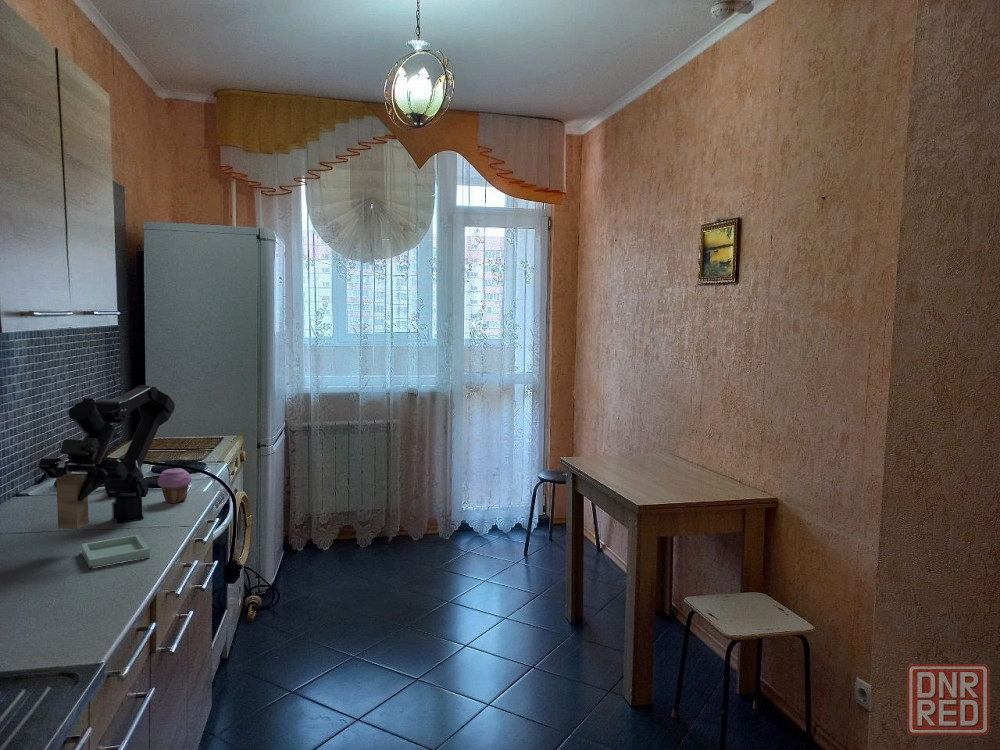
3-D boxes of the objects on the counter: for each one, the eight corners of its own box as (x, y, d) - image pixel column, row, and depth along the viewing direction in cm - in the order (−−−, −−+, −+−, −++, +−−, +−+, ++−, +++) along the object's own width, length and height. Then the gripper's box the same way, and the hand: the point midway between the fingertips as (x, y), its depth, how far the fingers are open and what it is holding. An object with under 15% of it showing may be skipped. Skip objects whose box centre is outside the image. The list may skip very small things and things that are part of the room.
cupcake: (171, 507, 192) (170, 473, 191) (151, 502, 195) (150, 469, 194) (197, 499, 199) (197, 467, 198) (178, 495, 203) (177, 463, 202)
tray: (139, 542, 163) (138, 534, 163) (149, 558, 154) (149, 548, 154) (81, 553, 155) (81, 544, 155) (89, 569, 146) (89, 560, 146)
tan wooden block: (70, 522, 159) (68, 473, 157) (88, 522, 159) (86, 473, 158) (58, 528, 154) (56, 478, 153) (77, 528, 154) (75, 478, 153)
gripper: (40, 424, 158) (9, 481, 148) (119, 426, 158) (94, 483, 148) (63, 449, 167) (35, 505, 157) (138, 451, 167) (114, 507, 157)
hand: (68, 500), depth 154 cm, fingers closed on tan wooden block, 4 cm apart
